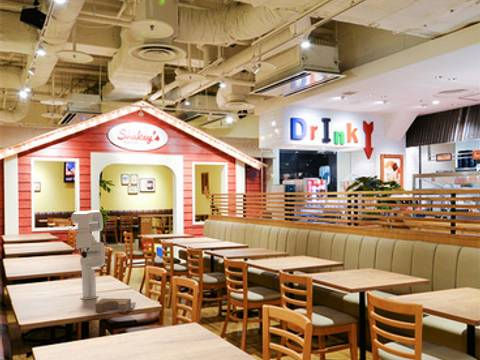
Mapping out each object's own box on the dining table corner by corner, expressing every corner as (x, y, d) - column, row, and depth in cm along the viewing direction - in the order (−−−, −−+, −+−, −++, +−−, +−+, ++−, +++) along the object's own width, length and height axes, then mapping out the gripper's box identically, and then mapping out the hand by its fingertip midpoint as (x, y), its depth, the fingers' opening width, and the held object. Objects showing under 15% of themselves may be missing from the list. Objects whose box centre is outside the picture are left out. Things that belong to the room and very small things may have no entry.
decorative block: (95, 312, 301) (125, 312, 299) (95, 303, 300) (125, 303, 299) (101, 306, 312) (131, 306, 310) (101, 298, 311) (130, 298, 310)
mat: (105, 305, 320) (105, 304, 320) (135, 303, 323) (135, 302, 323) (102, 311, 304) (102, 310, 304) (133, 309, 307) (133, 308, 307)
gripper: (71, 231, 315) (72, 259, 315) (94, 230, 318) (95, 257, 317) (73, 230, 323) (74, 257, 322) (95, 229, 325) (96, 256, 325)
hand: (84, 257), depth 320 cm, fingers closed
